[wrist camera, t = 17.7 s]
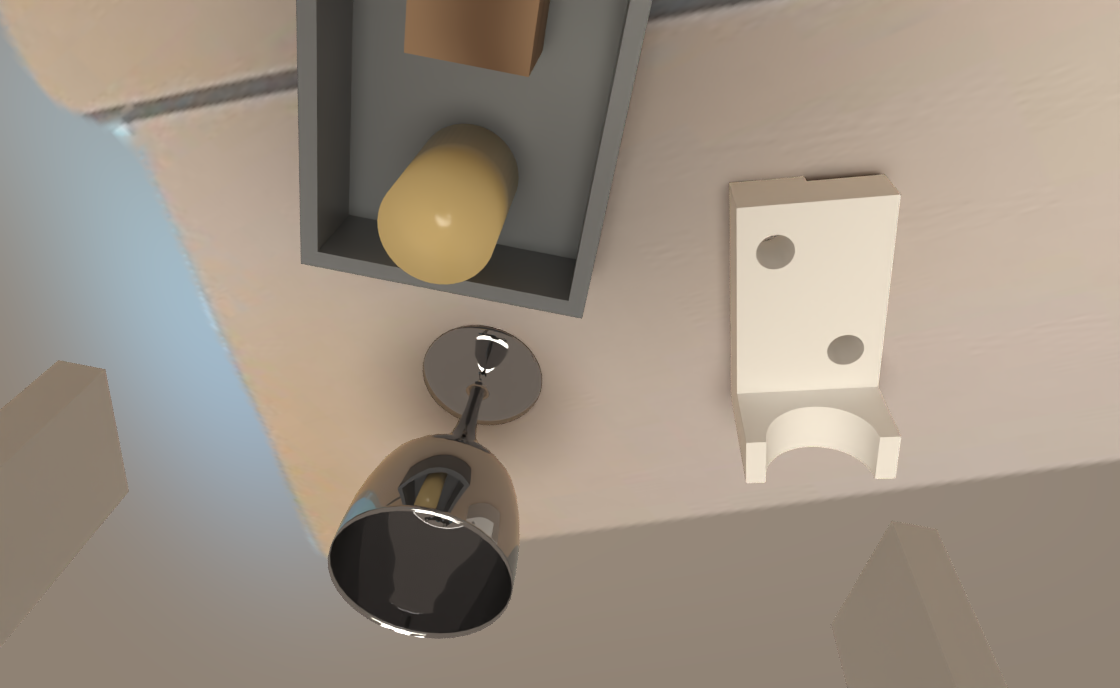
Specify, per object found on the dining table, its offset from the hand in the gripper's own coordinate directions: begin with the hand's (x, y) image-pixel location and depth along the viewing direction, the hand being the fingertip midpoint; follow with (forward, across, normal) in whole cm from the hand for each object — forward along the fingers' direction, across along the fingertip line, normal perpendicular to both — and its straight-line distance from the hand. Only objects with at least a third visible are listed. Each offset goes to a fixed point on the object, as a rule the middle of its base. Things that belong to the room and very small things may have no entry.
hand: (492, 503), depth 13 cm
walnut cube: (+26, -5, +4) cm, 27 cm away
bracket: (+27, +13, -8) cm, 31 cm away
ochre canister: (+26, -5, -5) cm, 27 cm away
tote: (+27, -5, 0) cm, 27 cm away
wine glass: (+27, -3, -17) cm, 32 cm away
